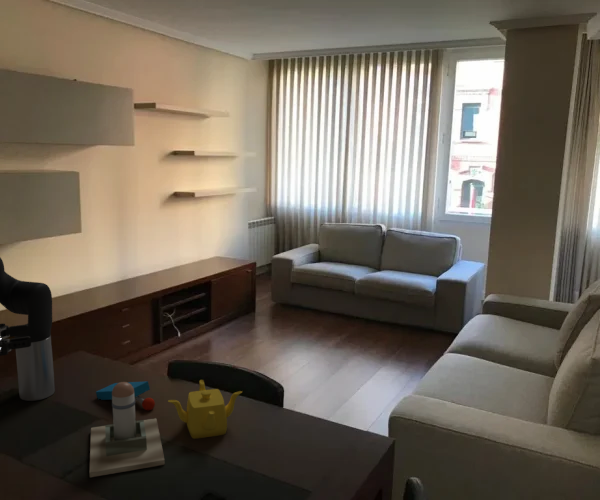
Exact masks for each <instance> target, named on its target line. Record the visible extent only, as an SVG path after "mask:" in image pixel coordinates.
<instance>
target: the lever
mask: <svg viewBox="0 0 600 500" xmlns="http://www.w3.org/2000/svg"><path fill="white" fill-rule="evenodd" d="M118 383H119V382H114V383H112V384H109V385H108V386H106V387H103V388H101V389H98V390H96V391H95V395H96V398H98V399H97V400H99V399H101V400H100V401H106V400H107V401H108V400H111V401H112V390H113V388H114V386H115V385H117V384H118ZM128 383H130V384H131V385H132V386H133V388H134V397H135V401H137V402H139V403H141V407H142V409H144V410H145V411H151V410H153V409H154V407H155V405H156V401H155V400H154V399H153V398H152V397H146V398H143V397H141V396H140V395H143V394H144V393H146V392H148V391H150V389H151V388H150V384H149V380H147V381H146V380H145V381H128Z"/></svg>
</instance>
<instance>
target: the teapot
mask: <svg viewBox="0 0 600 500" xmlns="http://www.w3.org/2000/svg"><path fill="white" fill-rule="evenodd" d="M198 382H199V383H198V384H199V389H198V390H195V391H190V392H189V393H188V397H187V402H186V403H187V404H186V410H184V409H183V406H182V405H181V402H180V401H179V400H176V399H169V400H167V403H170V404H172V405H174V407H175V409H176V411H177V415H178V418H179V419H180V420H181V421H182V422H183V423H185V424H186V426H187V430H188V432H189V435H190V437H191V438H192V439H194V440H195V439H205V438H210V437H211V438H212V437H217V436H222V435H225V434H226V433H227V431H228V417H230V416H231V415H232V413H233V411H234V408H235V403H236V400H237V397H238V396H239V395H241V394H242V393H243V390H242V391H241V390H239V391H236V392H233V393H232V395H231V396H230V398H229V399H230V400H229V401H228V403H227V404H225V399H224V397H223V394H222V392H221V391H220V389H219V388H213V389H206V384H205V380H204V379H200V380H199V381H198Z"/></svg>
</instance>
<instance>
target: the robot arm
mask: <svg viewBox="0 0 600 500" xmlns="http://www.w3.org/2000/svg"><path fill="white" fill-rule="evenodd" d="M0 305H1V306H2V307H4V308H5V309H6V310H8V311H9V312H10V313H13V314H17V315H24V316H25V315H26V316H27V323H25V324H20V325H11V326H9V325H6V323H0V357H1V356H7V355H8V354H9V352H11V351H12V350H15V357H16V369H17V370H16V371H17V381H18V393H19V399H21V400H22V401H29V402H34V401H40V400H44V399H46V398H49V397H51V396H52V395H53V394H55V391H56V390H55V389H56V388H55V373H54V361H53V360H54V359H53V348H52V347H53V346H52V334H51V332H52V326H53V296H52V291H51V289H50V287H49V285H48V284H46V283H43V282H39V281H38V282H36V281H24V280H19V279H17V278H16V277H13V276H11V275H10V274H8V273H7V272H6V270H5V265H4V261H3V259H2V257H0ZM9 337H10V338H9ZM11 337H12V338H11ZM13 337H14V338H13Z"/></svg>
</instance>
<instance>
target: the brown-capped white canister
mask: <svg viewBox="0 0 600 500" xmlns="http://www.w3.org/2000/svg"><path fill="white" fill-rule="evenodd" d="M128 382H129V381H128ZM128 382H127V381H120V382H117V383H118V384H117V385H115V386H114V388H113V390H112V400H111V407H112V422H113V424H114V441H116V440H123V439H129V438H136V421H137V420H136V400H135V397H134V388H133V386H132V385H131V384H130V383H128Z"/></svg>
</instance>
